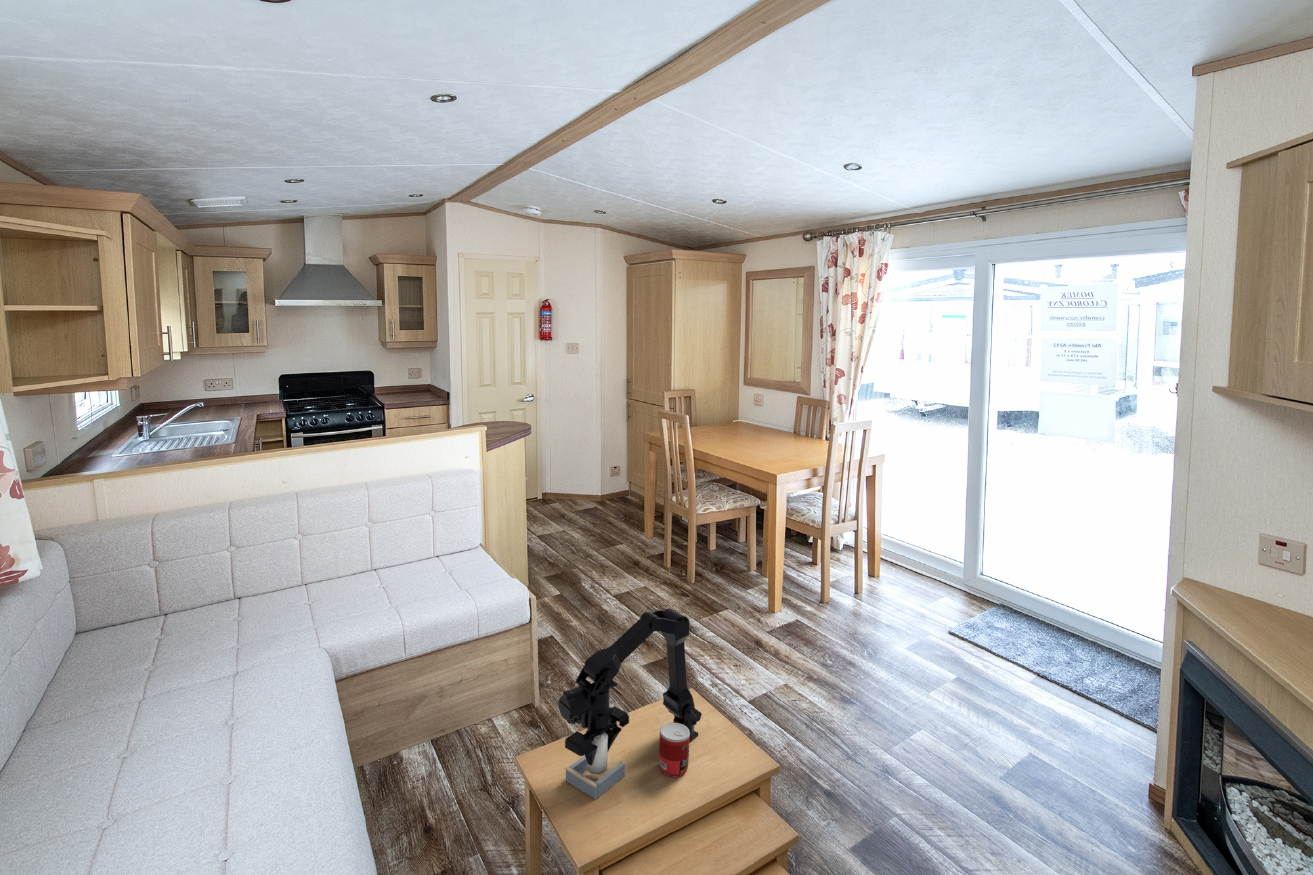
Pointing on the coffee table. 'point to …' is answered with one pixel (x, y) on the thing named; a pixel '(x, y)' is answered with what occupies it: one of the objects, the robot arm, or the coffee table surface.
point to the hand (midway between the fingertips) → (597, 759)
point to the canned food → (674, 749)
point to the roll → (599, 755)
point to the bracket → (587, 784)
